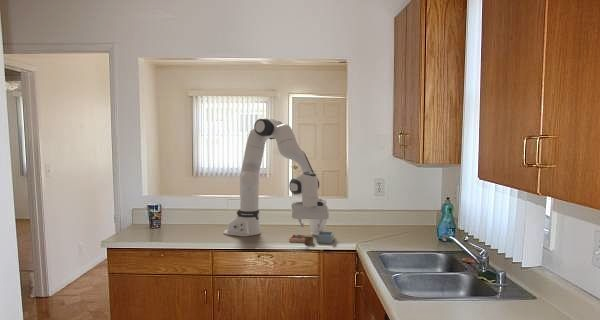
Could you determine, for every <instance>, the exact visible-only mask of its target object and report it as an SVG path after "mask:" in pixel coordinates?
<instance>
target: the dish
mask: <svg viewBox="0 0 600 320" xmlns="http://www.w3.org/2000/svg"><path fill="white" fill-rule="evenodd" d="M296 235H297V234H291V235H290V236H289V238H288V242H289V243H304V244H305V236H306V235H307V234H300V235H301V239H297V238H296Z"/></svg>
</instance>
